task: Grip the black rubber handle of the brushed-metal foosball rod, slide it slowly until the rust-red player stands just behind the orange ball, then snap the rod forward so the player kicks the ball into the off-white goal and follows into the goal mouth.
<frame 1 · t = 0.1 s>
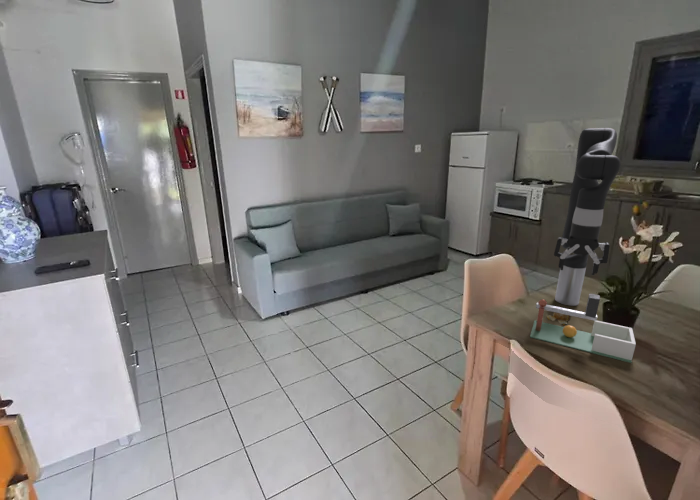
hand: (576, 271, 115), 29 cm above the table, fingers open, 8 cm apart
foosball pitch: (578, 339, 130), on the table
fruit: (557, 320, 144), on the table
ball: (569, 331, 131), point 3 cm above the table, touching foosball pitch
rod: (565, 313, 130), point 9 cm above the table, slide at 0.0 cm
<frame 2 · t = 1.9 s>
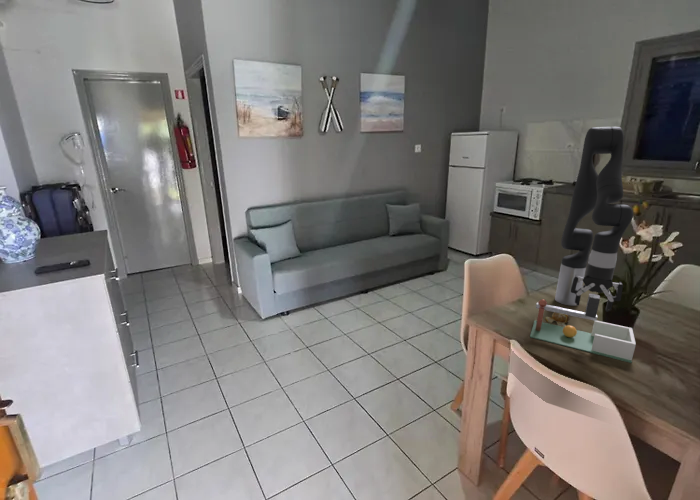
hand: (592, 307, 125), 14 cm above the table, fingers open, 8 cm apart
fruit: (556, 322, 143), on the table
everything else where it was.
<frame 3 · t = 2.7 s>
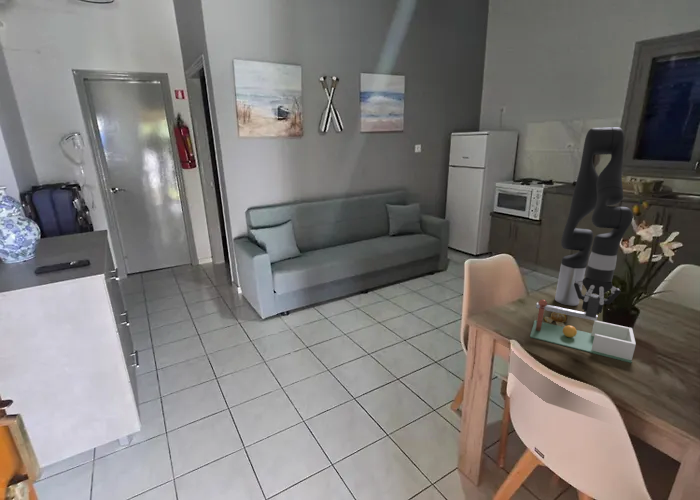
hand: (591, 311, 125), 12 cm above the table, fingers closed on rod, 3 cm apart
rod: (565, 313, 130), point 9 cm above the table, slide at 0.0 cm, touching gripper
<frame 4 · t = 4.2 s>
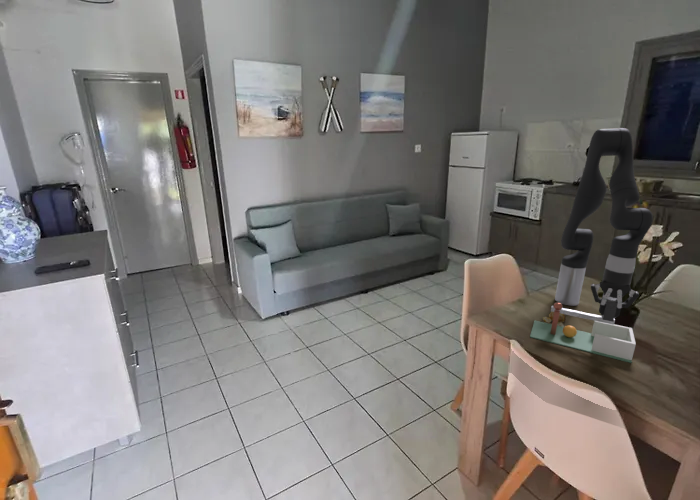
hand: (608, 315, 123), 12 cm above the table, fingers closed on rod, 3 cm apart
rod: (581, 316, 127), point 9 cm above the table, slide at 5.0 cm, touching gripper
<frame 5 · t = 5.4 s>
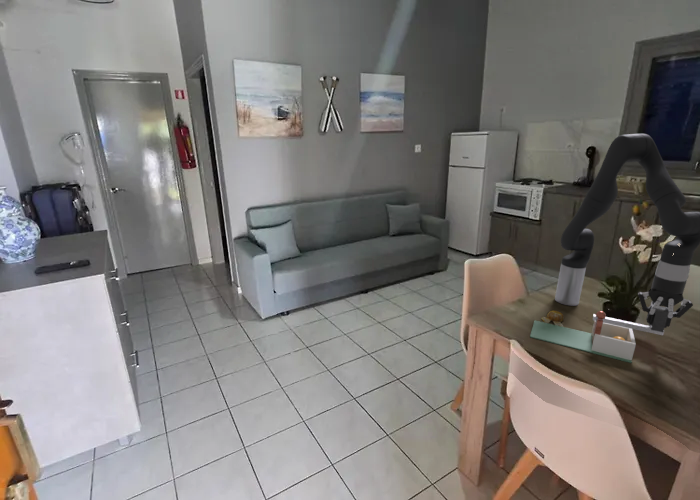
hand: (656, 325, 116), 12 cm above the table, fingers closed on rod, 3 cm apart
ball: (618, 342, 123), point 3 cm above the table, tilted 24°, touching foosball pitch
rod: (626, 326, 121), point 9 cm above the table, slide at 17.9 cm, touching gripper
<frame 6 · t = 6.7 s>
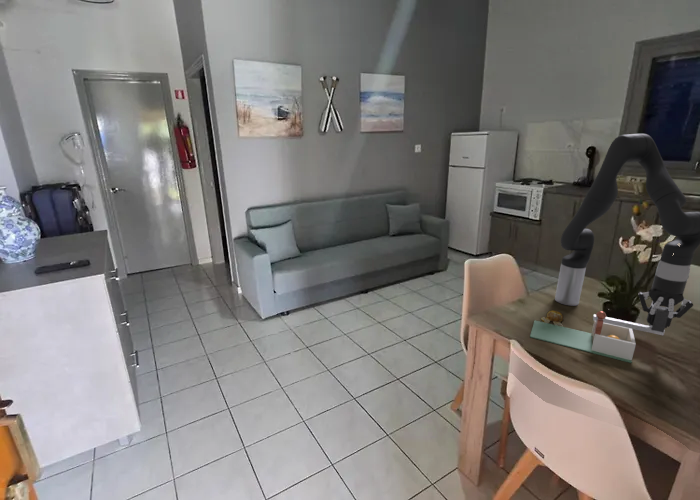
hand: (657, 325, 116), 12 cm above the table, fingers closed on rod, 3 cm apart
ball: (612, 341, 124), point 3 cm above the table, tilted 65°, touching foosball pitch
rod: (626, 326, 121), point 9 cm above the table, slide at 18.0 cm, touching gripper
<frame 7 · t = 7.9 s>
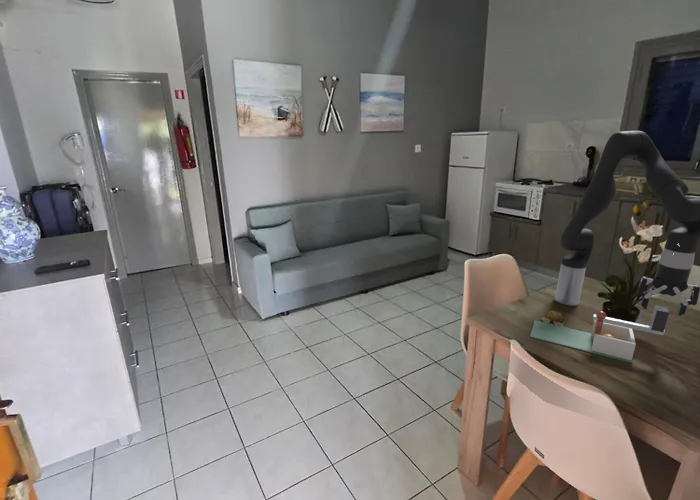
hand: (661, 311, 114), 17 cm above the table, fingers open, 8 cm apart
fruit: (551, 322, 143), on the table, touching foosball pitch
ball: (607, 340, 125), point 3 cm above the table, tilted 102°, touching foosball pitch
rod: (626, 326, 121), point 9 cm above the table, slide at 18.0 cm
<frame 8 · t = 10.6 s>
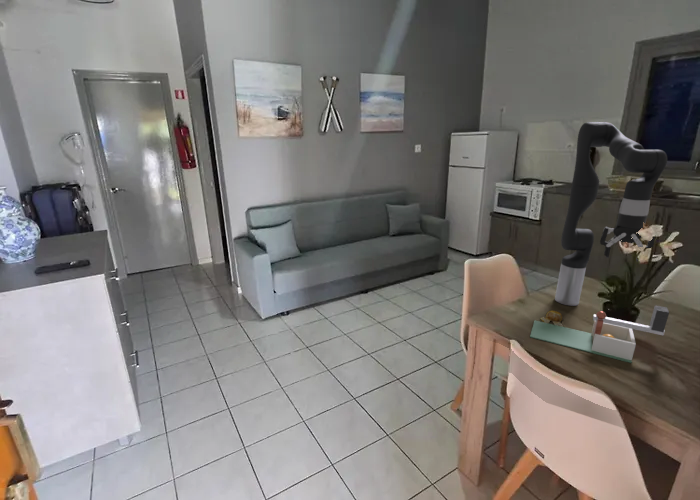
hand: (622, 259, 123), 30 cm above the table, fingers open, 8 cm apart
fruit: (551, 322, 143), on the table
everything else where it was.
at the end: ball inside the target area (1.5 cm from its centre), point 2.6 cm above the table; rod slide at 18.0 cm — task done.
